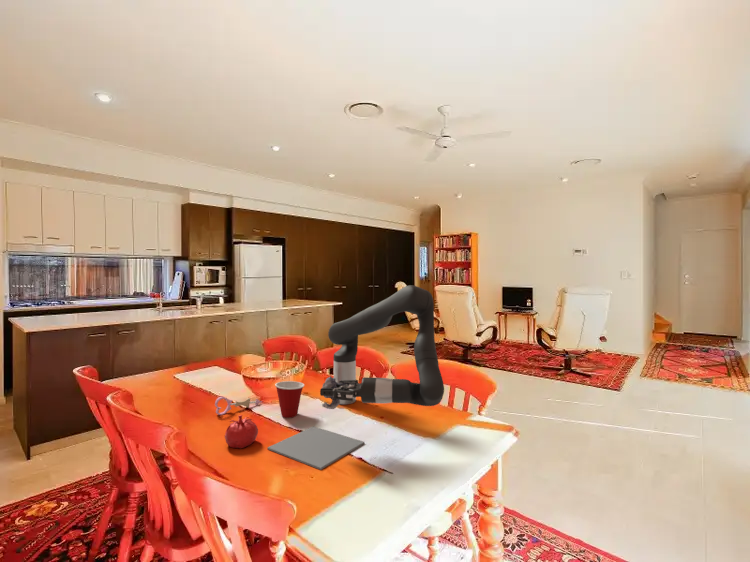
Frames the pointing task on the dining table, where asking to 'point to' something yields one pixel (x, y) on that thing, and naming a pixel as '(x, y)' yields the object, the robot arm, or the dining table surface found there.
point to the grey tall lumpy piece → (330, 383)
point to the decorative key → (245, 403)
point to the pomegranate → (241, 433)
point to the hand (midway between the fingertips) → (322, 389)
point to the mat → (316, 447)
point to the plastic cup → (289, 397)
